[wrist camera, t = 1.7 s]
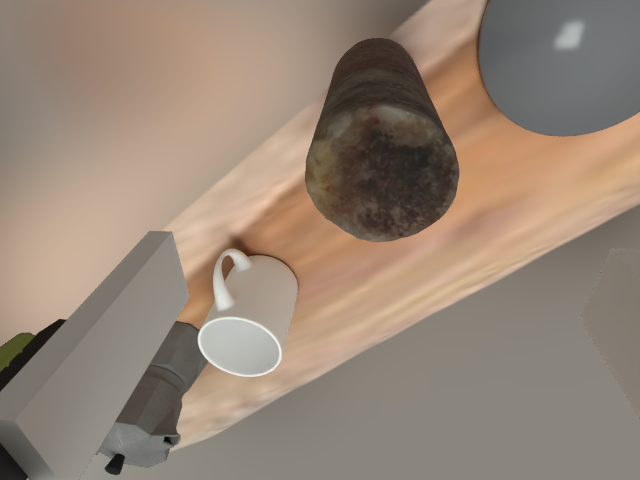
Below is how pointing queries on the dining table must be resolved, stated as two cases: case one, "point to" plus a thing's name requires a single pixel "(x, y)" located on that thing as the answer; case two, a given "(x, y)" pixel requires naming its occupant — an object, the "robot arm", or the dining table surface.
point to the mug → (249, 315)
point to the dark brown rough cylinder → (380, 148)
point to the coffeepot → (155, 403)
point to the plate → (562, 63)
